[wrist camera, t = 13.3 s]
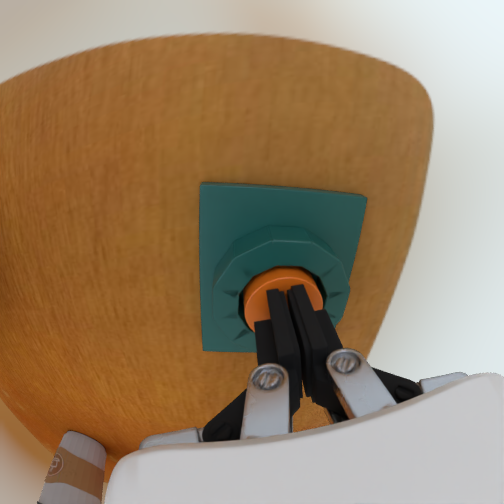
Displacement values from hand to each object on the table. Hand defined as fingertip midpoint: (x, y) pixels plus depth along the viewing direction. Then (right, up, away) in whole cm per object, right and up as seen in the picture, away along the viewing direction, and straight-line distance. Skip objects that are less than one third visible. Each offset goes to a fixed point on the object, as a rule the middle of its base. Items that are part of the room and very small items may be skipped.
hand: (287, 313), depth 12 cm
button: (0, +1, +2) cm, 2 cm away
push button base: (0, +1, +3) cm, 3 cm away
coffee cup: (-24, -23, +13) cm, 35 cm away
